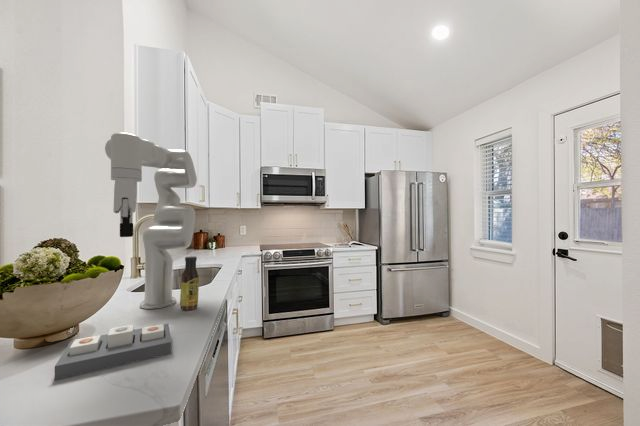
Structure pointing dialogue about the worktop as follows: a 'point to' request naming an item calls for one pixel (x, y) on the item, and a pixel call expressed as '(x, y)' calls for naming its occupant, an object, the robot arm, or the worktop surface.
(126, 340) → the plain key
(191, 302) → the sauce bottle
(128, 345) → the slotted grey tray
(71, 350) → the dot key
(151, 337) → the dot key
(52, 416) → the worktop surface
